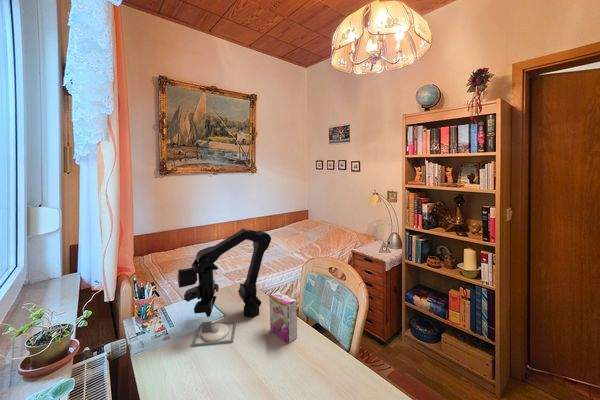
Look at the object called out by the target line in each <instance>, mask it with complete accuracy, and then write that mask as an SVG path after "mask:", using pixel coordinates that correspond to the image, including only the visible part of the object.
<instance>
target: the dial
mask: <svg viewBox="0 0 600 400" xmlns="http://www.w3.org/2000/svg"><path fill="white" fill-rule="evenodd" d="M212 323H213V322H212V320H211V321H210V320H209V321H202V322H201V324H202V326H201V331H202V333H201V334H202V336H201V337H202V340H204V341H206V342H215V341H223V340H224V339H225V338H226V337H227V336H228V335H229V326H228V324H222V323H217V324H212Z"/></svg>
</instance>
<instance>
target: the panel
mask: <svg viewBox="0 0 600 400" xmlns="http://www.w3.org/2000/svg"><path fill="white" fill-rule="evenodd" d="M211 323H212V324H217V323H222V324H225V325H229V324H232V325H233V324H234V325H233V330H232V334H231V335H232V336H231V339H228V340H220V341H215V342H207V341H206V342H196V341H197V338H198V336H199V334H200V331H201V329H202V323H199V325H198V327H197V331H196V333H195V335H194V338H193V341H192V343H191V347H192V348H193V347H202V346H203V347H206V346H214V345H224V344H234V341H235V340H234V338H235V334H236V327H237V320H228V321H216V322H215V321H214V322H211ZM200 336H201V337H203V336H202V333H201V334H200Z"/></svg>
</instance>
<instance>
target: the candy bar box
mask: <svg viewBox="0 0 600 400" xmlns="http://www.w3.org/2000/svg"><path fill="white" fill-rule="evenodd" d="M297 305H298V303H297V300H296V299H294V298H292V297H291V296H289V295H287V294H284V293H283V292H281V291H280V290H277V291H275V292H273V293H270V295H269V315H270V316H269V319H270V320H269V321H270V332H271V333H273V334H274V335H275V336H277V337H278V338H280V339H282V340H283V341H285V342H286V343H287V344H290V343H292V342H293V341H294V340H296V339H298V314H297V313H298V312H297V311H298V306H297ZM291 341H292V342H291Z"/></svg>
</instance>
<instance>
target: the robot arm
mask: <svg viewBox="0 0 600 400" xmlns="http://www.w3.org/2000/svg"><path fill="white" fill-rule="evenodd" d="M246 240H247V241H250V242H252V246H253V252H252V255H251V260H250V262H249V263H250V264H249V267H248V271H247V274H246V279H245V281H244V282H243V283H240V284H239V288H238V291H237V293H238V296H239V298H240V299H241V300H242V302H243V303H244V305H243V317H244V318H245V317H247V318H252V319H253V318H256V317H257V316H260V307H261V305H262V301H261V299H260V298H259V297H258V295H257V291H258V290H257V280H258V277H259V273H260V269H261V265H262V261H263V259H264V254H265V252H266V251H267V250H268V248H269V246H270V244H271V241H272V237H271V235H270V234H269V233H268V232H266V231H264V230H261V229H260V230H252V229H247V228H241V229H240V230H239V231H237V232H235V233H234V234H231V236H229V237H227V238H225V239H224V240H222V241H220V242H218V243H217V244H215V245H213V246H212V245H211V246H207V247H205V248H203V249H200V250H199V251H198V252H197V253H196V256H195V259H194V261H193V262H192V264H191V266H190V267H188V268H187V267H186V268H181V269H178V270H177V277H176V278H177V285H178V288H179V289H181V288H184V287H185V288H186V287H188V286H193V287H191V288H188V289H187V290H185V292H184V294H183V300H184V301H186V303H187V302H188V303H189V302H190V301H192V300H195V299H197V300H199V301H197V302H196V303H195V305H194V306H193V312H194V314H205V316H206V317H207V318H210V317H211V314H212V311H213V308H214V307H215V303H216V299H217V295H215V294H216V293H219V290H220V287H219V285H220V284H217V283H216V282H215V280H214V271H216V270H219V267H218V266H217V265H216V263H215V262H217V261H218V259H219V258H220V257H222V255H224V254H225V253H226V252H228V251H230V250H231V249H233V248H234V247H236V246H238V245H239V244H241V243H242V242H244V241H246ZM197 282H198V285H196V286H194V285H195V284H197Z"/></svg>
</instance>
